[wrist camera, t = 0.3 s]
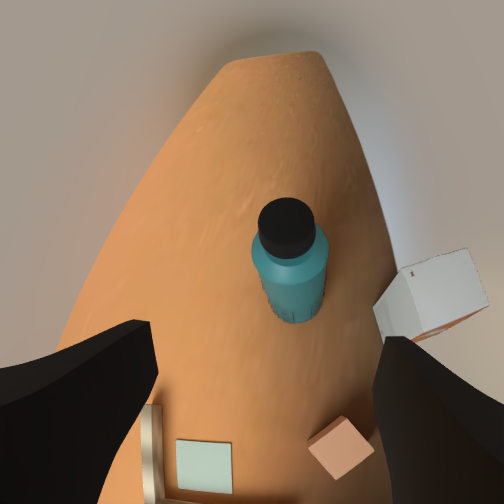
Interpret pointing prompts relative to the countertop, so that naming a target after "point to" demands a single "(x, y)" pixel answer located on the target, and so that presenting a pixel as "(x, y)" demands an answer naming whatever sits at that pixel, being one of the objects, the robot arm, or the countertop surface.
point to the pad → (204, 466)
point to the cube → (339, 447)
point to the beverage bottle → (291, 259)
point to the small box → (431, 297)
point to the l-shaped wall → (153, 456)
